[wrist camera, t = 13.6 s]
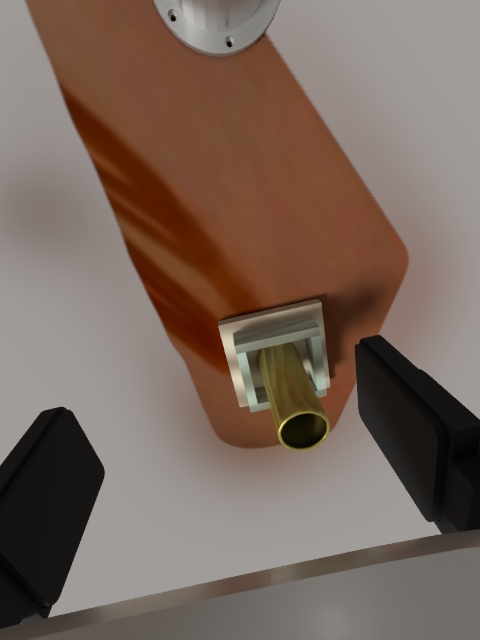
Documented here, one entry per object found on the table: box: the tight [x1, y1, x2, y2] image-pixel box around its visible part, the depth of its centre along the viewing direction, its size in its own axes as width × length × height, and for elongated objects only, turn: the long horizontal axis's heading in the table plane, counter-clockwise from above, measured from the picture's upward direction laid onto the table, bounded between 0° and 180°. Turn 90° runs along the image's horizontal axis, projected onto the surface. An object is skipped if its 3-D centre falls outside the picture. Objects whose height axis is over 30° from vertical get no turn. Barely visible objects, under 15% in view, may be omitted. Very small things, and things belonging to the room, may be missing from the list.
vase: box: [256, 342, 330, 451], centre depth 36 cm, size 6×6×14 cm
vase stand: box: [218, 299, 330, 413], centre depth 42 cm, size 14×14×5 cm
